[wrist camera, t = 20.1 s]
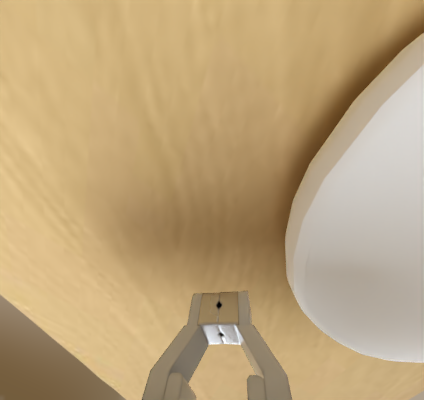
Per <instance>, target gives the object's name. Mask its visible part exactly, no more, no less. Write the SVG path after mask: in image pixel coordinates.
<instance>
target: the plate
mask: <svg viewBox="0 0 424 400" xmlns="http://www.w3.org/2000/svg"><path fill="white" fill-rule="evenodd" d="M285 252H286V273H287V279H288V282H289V285H290V287H291V289H292V291H293V294H294V296H295V298H296V300H297V302H298V304H299V306H300V308H301V310H302V311H303V312H304V313H305V314H306V315H307V316H308V317H309V318H310V320H311V321H312V322H313V323H314V324H315V325H316V326H317V327H318V328H319V329H320V330H321V331H322V332H324V333H325V334H327V335H328V336H330V337H331V338H332V339H334V340H335V341H337V342H338V343H340V344H342V345H344V346H346V347H348V348H350V349H352V350H354V351H356V352H358V353H360V354H363V355H367V356H372V357H376V358H381V359H385V360H390V361H397V362H418V363H424V33H422V34H421V35H420V36H419V37H417V38H416V39H415V40H414V41H412V42H411V43H410V44H409V45H407V46H406V47H405V48H404V49H403V50H402V51H401V52H400V53H399V54H398V55H397V56H396V57H395V58H394V59H393V60H392V61H391V62H390V63H389V64H388V65H387V66H386V67H385V68H384V70H383V71H382V72H381V73H380V74H379V75H378V76H377V77H376V78H375V79H374V80H373V81H372V82H371V83H370V84H369V85H368V86H367V87H366V88H365V89H364V91H363V92H362V93H361V94H360V95H359V96H358V97H357V98H356V99H355V100H354V101H353V103H352V104H351V106H350V107H349V109H348V110H347V111H346V113H345V114H344V116H343V117H342V119H341V120H340V121H339V123H338V124H337V126H336V127H335V128H334V130H333V131H332V133H331V134H330V136H329V137H328V138H327V140H326V141H325V143H324V144H323V146H322V147H321V148H320V150H319V151H318V153H317V154H316V155H315V157H314V158H313V160H312V161H311V163H310V164H309V166H308V168H307V171H306V173H305V175H304V177H303V179H302V182H301V184H300V186H299V188H298V190H297V192H296V195H295V197H294V199H293V202H292V207H291V212H290V216H289V221H288V226H287V230H286V235H285Z"/></svg>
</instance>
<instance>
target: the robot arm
mask: <svg viewBox="0 0 424 400" xmlns="http://www.w3.org/2000/svg"><path fill="white" fill-rule="evenodd" d="M208 344H241V347H242V348H243V350H244V352H245V354H246V356H247V358H248V360H249V362H250V364H251V366H252V368H253V370H254V372H255V374H256V375H249V377H248V378H247V392H248V400H292V397H291V392H290V387H289V382H288V377H287V375H286V373H285V372H284V370H283V368H282V367H281V365H280V364H279V362H278V361H277V359H276V358H275V356H274V355H273V353H272V352H271V350H270V349H269V347H268V346H267V344H266V343H265V341H264V340H263V338H262V337H261V335H260V334H259V332H258V331H257V329H256V328H255V326H254V325H252V316H251V308H250V301H249V295H248V291H242V292H238V291H237V292H221V293H196V294H194V295H193V297H192V302H191V307H190V312H189V318H188V323H187V325H186V326H184V327H183V328H182V329H181V331H180V332H179V333H178V335H177V336H176V337H175V339H174V340H173V341H172V343H171V344H170V345H169V347H168V348H167V349H166V351H165V352H164V353H163V355H162V356H161V357H160V358H159V360H158V361H157V362H156V364H155V365H154V366H153V368H152V369H151V370H150V374H149V377H148V380H147V384H146V387H145V391H144V394H143V397H142V400H196V395H195V393H194V392H193V390H192V389H191V387H190V386H189V384H188V382H189V381H190V379H191V377H192V375H193V373H194V371H195V369H196V368H197V366H198V364H199V362H200V360H201V358H202V356H203V355H204V353H205V351H206V349H207V347H208Z"/></svg>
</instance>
